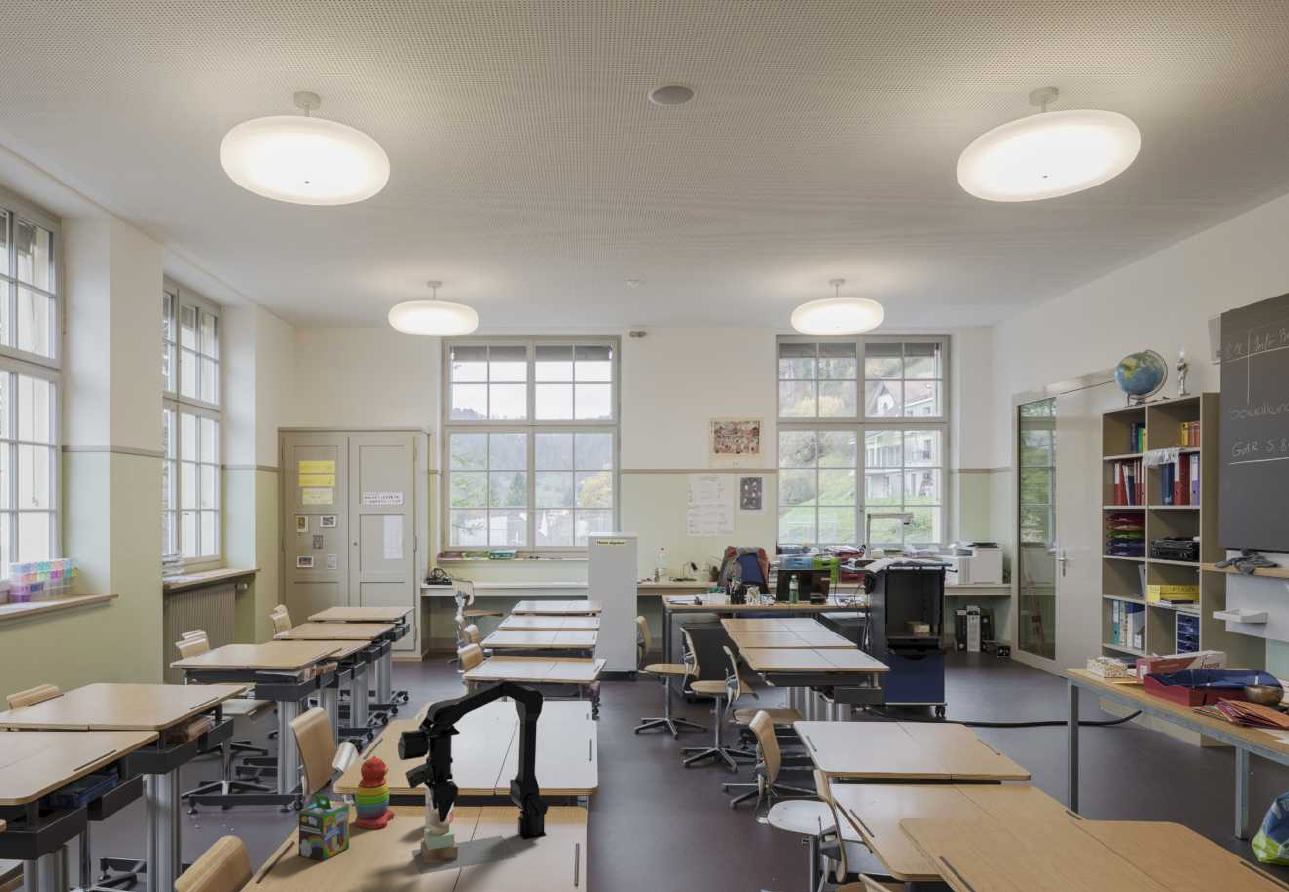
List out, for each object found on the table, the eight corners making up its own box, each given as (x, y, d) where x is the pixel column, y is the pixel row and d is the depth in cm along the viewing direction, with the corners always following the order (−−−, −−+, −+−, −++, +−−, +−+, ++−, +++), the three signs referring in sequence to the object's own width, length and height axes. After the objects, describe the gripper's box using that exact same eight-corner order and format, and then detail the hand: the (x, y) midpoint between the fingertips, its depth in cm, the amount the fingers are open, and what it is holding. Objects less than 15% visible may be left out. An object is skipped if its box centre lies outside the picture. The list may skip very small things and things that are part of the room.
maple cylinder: (447, 826, 215) (447, 807, 215) (450, 833, 210) (451, 813, 211) (427, 829, 213) (428, 810, 213) (430, 836, 208) (431, 816, 209)
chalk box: (349, 848, 217) (351, 791, 218) (323, 862, 209) (324, 802, 210) (324, 842, 221) (325, 786, 222) (296, 855, 213) (298, 797, 214)
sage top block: (449, 836, 216) (449, 825, 216) (454, 846, 210) (454, 834, 210) (424, 841, 213) (424, 829, 213) (428, 850, 207) (428, 838, 207)
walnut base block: (451, 847, 217) (451, 835, 217) (457, 858, 209) (457, 846, 210) (420, 852, 213) (420, 840, 214) (425, 864, 206) (425, 852, 206)
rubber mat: (501, 836, 224) (501, 835, 224) (516, 858, 210) (516, 856, 210) (411, 852, 214) (411, 850, 214) (420, 875, 201) (420, 874, 201)
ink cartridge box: (437, 818, 238) (438, 766, 239) (453, 819, 237) (454, 767, 238) (424, 829, 229) (425, 775, 230) (440, 831, 228) (441, 777, 229)
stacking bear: (384, 829, 230) (385, 764, 231) (348, 829, 230) (349, 764, 231) (396, 814, 240) (397, 752, 242) (362, 814, 241) (363, 752, 242)
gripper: (403, 747, 218) (401, 808, 217) (413, 768, 201) (412, 833, 200) (445, 742, 223) (444, 801, 222) (459, 762, 206) (458, 826, 205)
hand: (438, 815), depth 212 cm, fingers open, 9 cm apart
